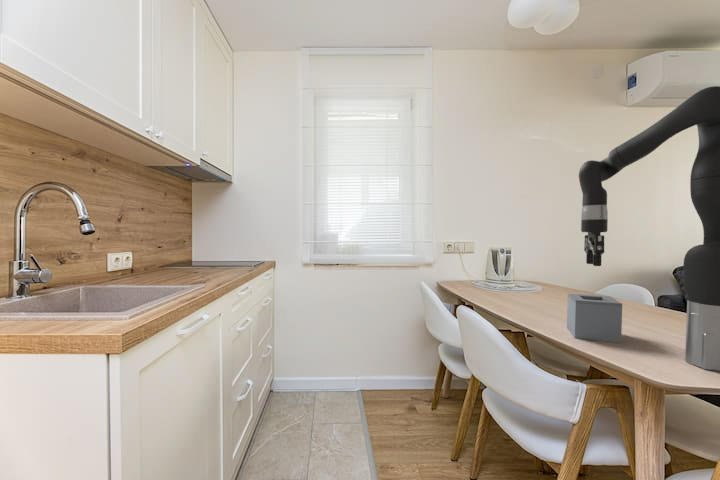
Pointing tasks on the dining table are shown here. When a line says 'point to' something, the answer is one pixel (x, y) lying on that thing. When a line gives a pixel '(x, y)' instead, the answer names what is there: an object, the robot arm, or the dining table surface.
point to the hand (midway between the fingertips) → (593, 264)
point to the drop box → (594, 317)
